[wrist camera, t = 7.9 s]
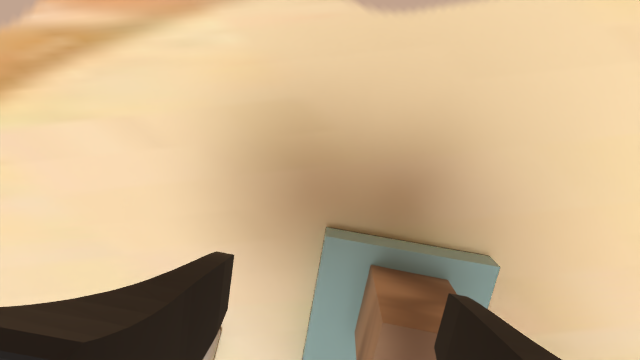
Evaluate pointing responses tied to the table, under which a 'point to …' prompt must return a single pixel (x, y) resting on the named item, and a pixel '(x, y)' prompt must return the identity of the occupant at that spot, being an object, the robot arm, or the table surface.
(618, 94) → the table surface
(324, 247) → the base board
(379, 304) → the walnut block
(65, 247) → the table surface
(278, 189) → the table surface
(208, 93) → the table surface
